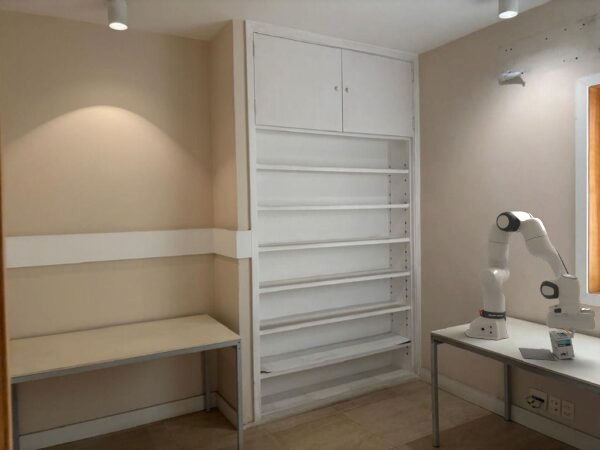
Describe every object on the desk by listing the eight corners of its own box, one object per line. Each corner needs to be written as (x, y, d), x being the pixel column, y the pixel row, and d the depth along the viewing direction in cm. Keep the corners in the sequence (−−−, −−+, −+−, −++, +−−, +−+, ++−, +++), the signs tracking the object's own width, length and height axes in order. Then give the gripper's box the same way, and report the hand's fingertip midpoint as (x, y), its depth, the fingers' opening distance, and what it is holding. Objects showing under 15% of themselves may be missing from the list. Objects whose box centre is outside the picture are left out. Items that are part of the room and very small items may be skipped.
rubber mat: (523, 358, 224) (523, 357, 224) (518, 348, 239) (518, 347, 239) (556, 360, 220) (556, 359, 220) (549, 350, 235) (549, 349, 235)
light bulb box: (575, 357, 220) (571, 335, 220) (560, 359, 221) (555, 337, 221) (566, 350, 231) (562, 329, 230) (552, 352, 232) (548, 331, 232)
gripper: (592, 307, 224) (593, 336, 225) (545, 306, 230) (545, 335, 230) (596, 310, 218) (597, 340, 219) (547, 309, 224) (548, 338, 224)
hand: (570, 337), depth 225 cm, fingers closed
